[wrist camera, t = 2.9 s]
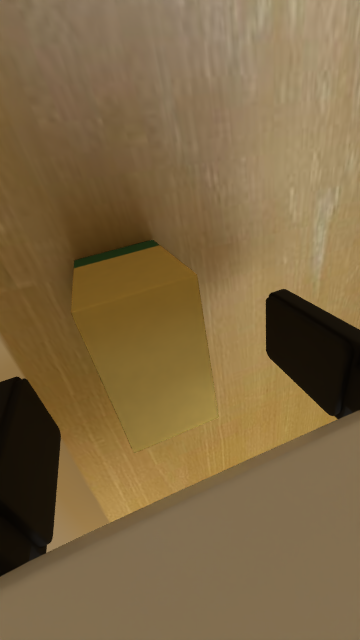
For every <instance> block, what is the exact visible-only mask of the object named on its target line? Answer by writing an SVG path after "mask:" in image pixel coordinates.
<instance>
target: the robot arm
mask: <svg viewBox="0 0 360 640" xmlns="http://www.w3.org/2000/svg"><path fill="white" fill-rule="evenodd" d="M266 352H267V354H268V356H269V358H270V359H271V360H272V361H273V362H274V363H275V364H277V365H278V366H279V367H280V368H281V369H282V370H283V371H284V372H285V373H286V374H287V375H288V376H289V377H290V378H291V379H292V380H293V381H294V382H295V383H296V384H297V385H298V386H299V387H300V388H302V389H303V390H304V391H305V392H306V393H307V394H308V395H309V396H310V397H311V398H312V399H313V400H314V401H315V402H316V403H317V404H318V405H319V406H320V407H321V408H322V409H323V410H324V411H325V412H327V413H328V414H329V415H331V416H335V417H336V418H337V419H338V420H336V421H333V422H331V423H329V424H327V425H325V426H322V427H320V428H318V429H316V430H313V431H311V432H309V433H307V434H304V435H302V436H300V437H298V438H295V439H293V440H291V441H289V442H286V443H284V444H282V445H280V446H278V447H275V448H273V449H271V450H269V451H266V452H264V453H262V454H260V455H258V456H255V457H253V458H251V459H249V460H247V461H244V462H242V463H240V464H238V465H236V466H233V467H231V468H229V469H227V470H224V471H222V472H220V473H218V474H216V475H213V476H211V477H209V478H207V479H205V480H202V481H200V482H198V483H196V484H194V485H191V486H189V487H187V488H185V489H183V490H180V491H178V492H176V493H174V494H172V495H170V496H167V497H165V498H163V499H161V500H159V501H157V502H154V503H152V504H150V505H148V506H146V507H144V508H141V509H139V510H137V511H135V512H133V513H130V514H128V515H126V516H124V517H122V518H120V519H117V520H115V521H113V522H111V523H109V524H107V525H104V526H102V527H100V528H98V529H96V530H94V531H91V532H89V533H87V534H85V535H83V536H81V537H79V538H77V539H75V540H73V541H71V542H68V543H66V544H64V545H62V546H60V547H58V548H56V549H54V550H52V551H50V552H48V553H46V549H47V544H49V543H50V542H51V541H52V537H53V527H54V515H55V502H56V490H57V478H58V465H59V451H60V440H61V434H60V430H59V428H58V426H57V424H56V423H55V421H54V420H53V418H52V417H51V415H50V414H49V412H48V411H47V409H46V408H45V406H44V405H43V403H42V401H41V400H40V398H39V397H38V395H37V394H36V392H35V391H34V389H33V388H32V386H31V385H30V383H29V382H28V380H27V379H21V378H19V377H14V378H11V379H8V380H5V381H2V382H0V640H360V330H359V329H357V328H355V327H353V326H352V325H350V324H348V323H346V322H344V321H343V320H341V319H339V318H337V317H335V316H333V315H332V314H330V313H328V312H326V311H324V310H322V309H321V308H319V307H317V306H315V305H313V304H312V303H310V302H308V301H306V300H304V299H302V298H301V297H299V296H297V295H295V294H293V293H291V292H290V291H288V290H286V289H282V290H279V291H276V292H273V293H271V294H270V295H269V298H267V299H266Z"/></svg>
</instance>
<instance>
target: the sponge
mask: <svg viewBox="0 0 360 640" xmlns="http://www.w3.org/2000/svg"><path fill="white" fill-rule="evenodd" d="M71 314H72V317H73V319H74V321H75V323H76V325H77V328H78V330H79V332H80V334H81V337H82V339H83V341H84V343H85V345H86V348H87V350H88V352H89V354H90V357H91V359H92V361H93V363H94V365H95V368H96V370H97V372H98V374H99V377H100V379H101V381H102V383H103V385H104V388H105V390H106V392H107V394H108V396H109V399H110V401H111V403H112V405H113V408H114V410H115V412H116V414H117V416H118V419H119V421H120V423H121V425H122V428H123V430H124V432H125V434H126V436H127V439H128V441H129V443H130V445H131V448H132V450H133V452H134V453H136V452H139V451H141V450H143V449H146V448H148V447H150V446H153V445H155V444H158V443H160V442H162V441H165V440H167V439H169V438H172V437H174V436H177V435H179V434H181V433H184V432H186V431H188V430H191V429H193V428H195V427H198V426H200V425H203V424H205V423H207V422H210V421H212V420H214V419H217V418H219V415H218V409H217V402H216V395H215V389H214V382H213V376H212V369H211V363H210V356H209V350H208V343H207V337H206V330H205V323H204V317H203V310H202V304H201V297H200V291H199V284H198V278H197V274H196V273H194V272H193V271H192V270H191V269H189V268H188V267H187V266H186V265H184V264H183V263H182V262H181V261H179V260H178V259H177V258H175V257H174V256H173V255H172V254H170V253H169V252H168V251H167V250H165V249H164V248H163V247H162V246H160V245H159V244H157V243H156V242H155V241H154V240H150V241H146V242H142V243H139V244H135V245H131V246H127V247H123V248H120V249H116V250H112V251H108V252H105V253H101V254H97V255H93V256H89V257H86V258H82V259H78V260H75V261H74V271H73V288H72V304H71Z"/></svg>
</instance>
